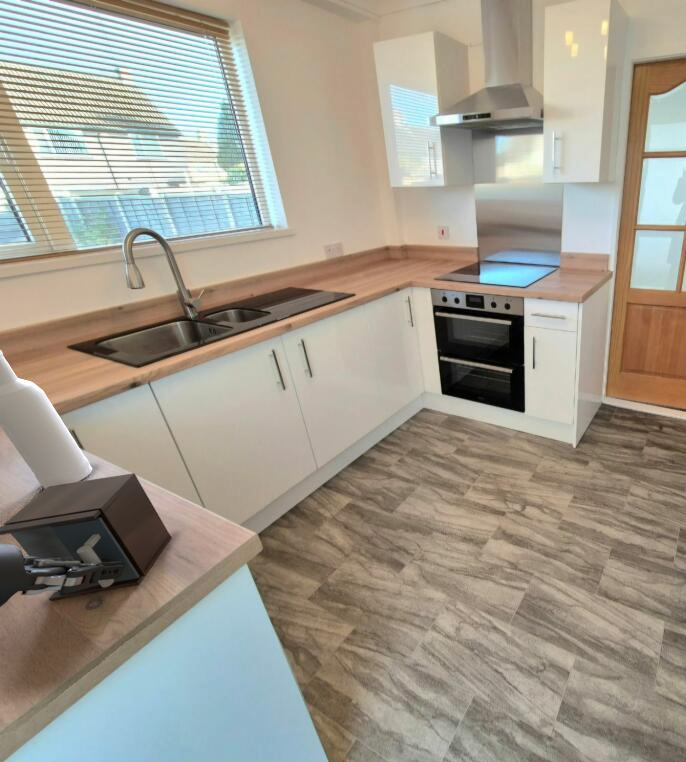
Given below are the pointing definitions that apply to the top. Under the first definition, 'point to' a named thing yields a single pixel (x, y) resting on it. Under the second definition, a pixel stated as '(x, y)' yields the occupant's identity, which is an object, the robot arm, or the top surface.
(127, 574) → the glass door
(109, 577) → the robot arm
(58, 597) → the walnut cabinet
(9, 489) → the top surface
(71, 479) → the bottle
